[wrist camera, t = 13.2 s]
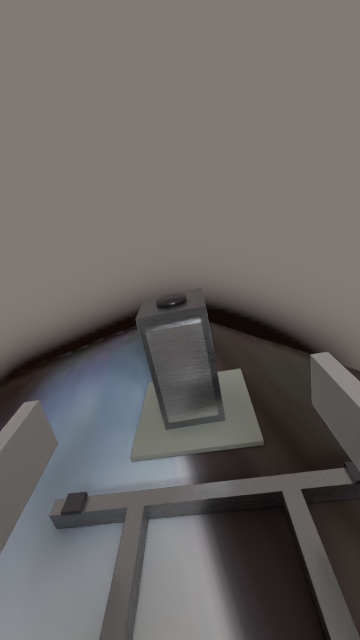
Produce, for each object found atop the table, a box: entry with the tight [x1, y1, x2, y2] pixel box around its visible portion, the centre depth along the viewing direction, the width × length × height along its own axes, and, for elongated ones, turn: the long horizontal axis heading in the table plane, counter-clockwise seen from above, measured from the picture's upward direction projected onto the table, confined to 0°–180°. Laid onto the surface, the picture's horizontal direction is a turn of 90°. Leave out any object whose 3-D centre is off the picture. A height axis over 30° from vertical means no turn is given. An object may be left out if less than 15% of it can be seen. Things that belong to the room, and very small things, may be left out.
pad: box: [130, 369, 264, 461], centre depth 25 cm, size 10×10×1 cm
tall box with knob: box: [136, 288, 226, 430], centre depth 23 cm, size 5×6×10 cm
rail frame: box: [49, 461, 360, 640], centre depth 12 cm, size 20×11×2 cm, turn 88°
